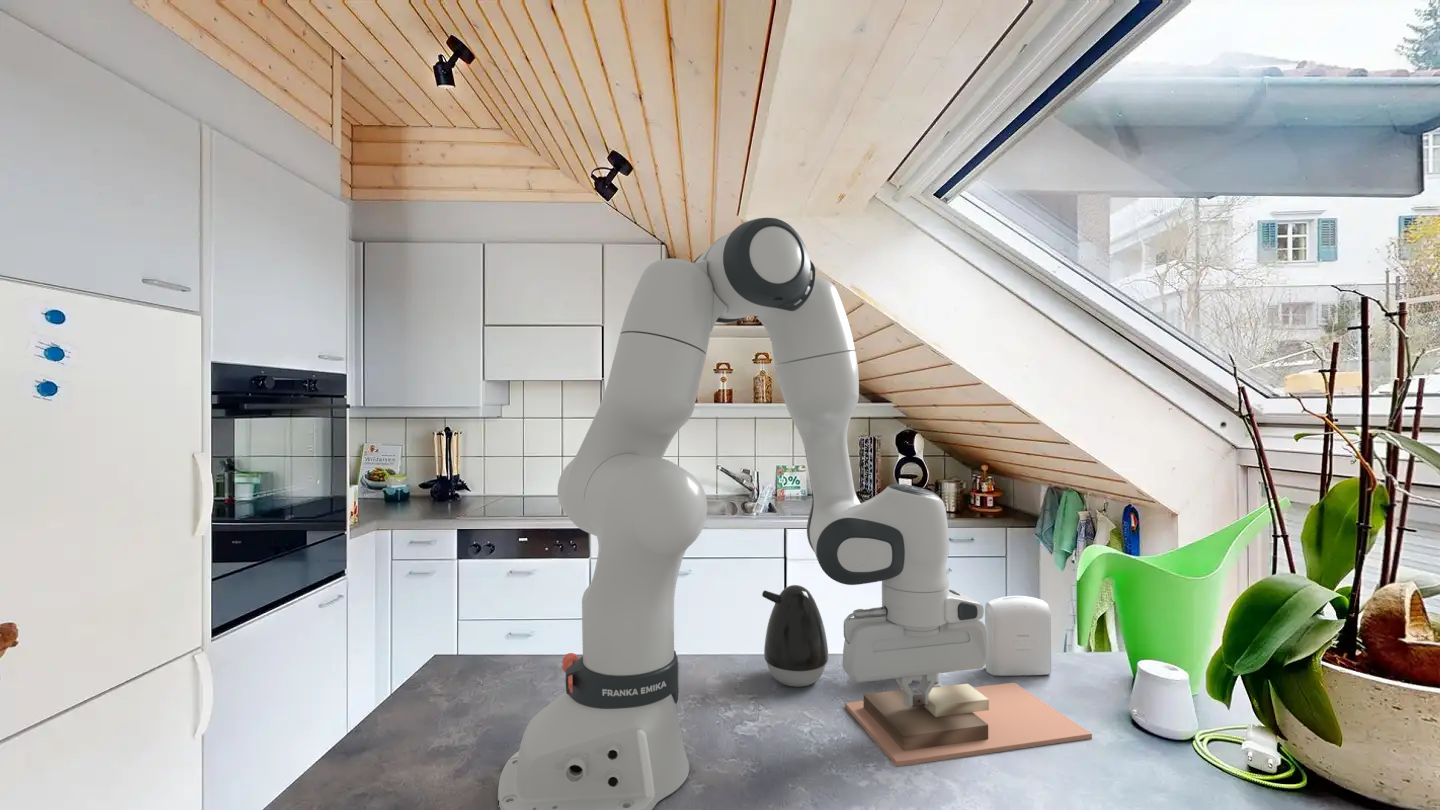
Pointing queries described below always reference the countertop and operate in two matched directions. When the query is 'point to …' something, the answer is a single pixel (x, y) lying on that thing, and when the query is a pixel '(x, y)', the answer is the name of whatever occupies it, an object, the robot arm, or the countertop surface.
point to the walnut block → (921, 723)
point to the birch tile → (956, 700)
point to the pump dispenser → (795, 638)
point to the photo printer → (1018, 636)
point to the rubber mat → (1009, 722)
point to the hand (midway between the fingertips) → (915, 704)
